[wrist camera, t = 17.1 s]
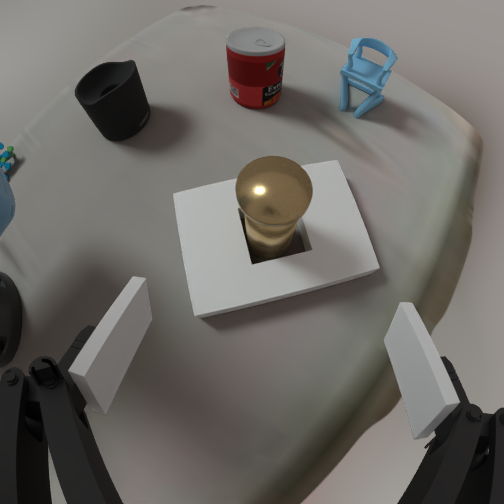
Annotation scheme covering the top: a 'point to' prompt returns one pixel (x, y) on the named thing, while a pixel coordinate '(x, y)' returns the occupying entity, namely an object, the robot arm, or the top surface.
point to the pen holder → (114, 99)
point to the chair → (366, 73)
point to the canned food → (255, 66)
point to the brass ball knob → (272, 203)
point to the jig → (278, 270)
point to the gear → (6, 157)
